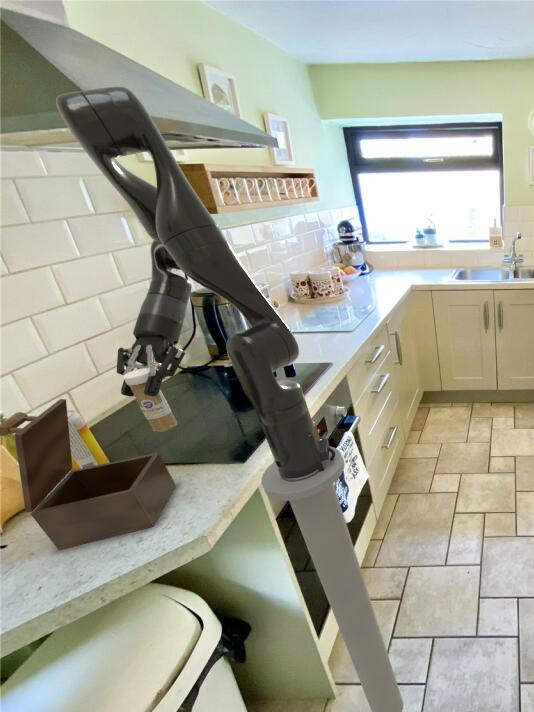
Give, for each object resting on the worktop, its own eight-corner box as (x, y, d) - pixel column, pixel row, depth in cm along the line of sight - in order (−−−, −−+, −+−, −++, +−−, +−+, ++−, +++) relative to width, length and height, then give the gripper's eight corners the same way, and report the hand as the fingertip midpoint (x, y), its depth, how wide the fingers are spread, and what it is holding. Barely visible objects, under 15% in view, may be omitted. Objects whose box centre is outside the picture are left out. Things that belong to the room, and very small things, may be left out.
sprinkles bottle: (152, 435, 88) (121, 379, 82) (154, 426, 92) (123, 371, 86) (178, 427, 91) (149, 372, 84) (178, 419, 94) (151, 365, 88)
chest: (176, 485, 90) (158, 452, 86) (153, 526, 79) (131, 491, 75) (94, 504, 86) (71, 470, 82) (58, 550, 75) (30, 514, 71)
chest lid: (66, 399, 77) (27, 396, 74) (21, 435, 66) (-27, 432, 64) (72, 468, 82) (36, 467, 80) (31, 512, 71) (-12, 512, 69)
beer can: (106, 460, 100) (73, 406, 93) (114, 468, 96) (80, 413, 90) (73, 474, 95) (35, 418, 88) (80, 483, 92) (41, 426, 85)
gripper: (114, 312, 88) (88, 390, 83) (176, 310, 86) (152, 390, 81) (148, 327, 95) (125, 400, 90) (205, 326, 93) (185, 400, 88)
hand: (138, 395), depth 85 cm, fingers closed on sprinkles bottle, 4 cm apart
